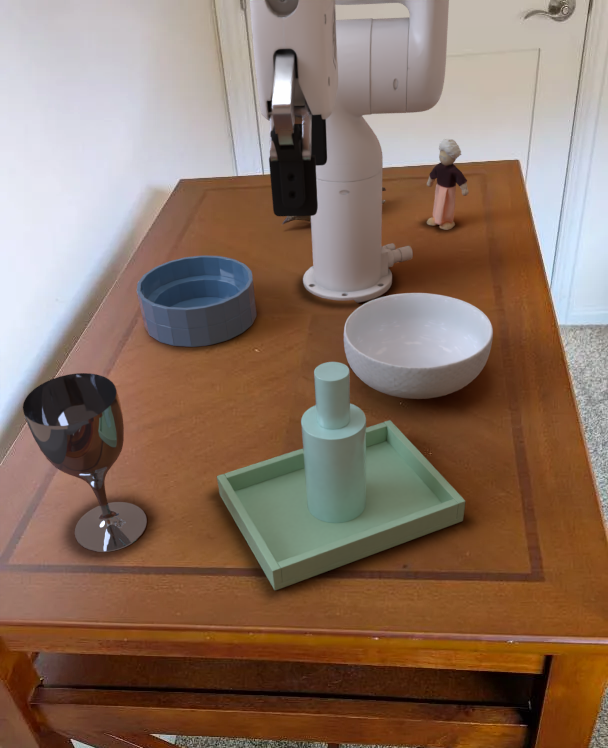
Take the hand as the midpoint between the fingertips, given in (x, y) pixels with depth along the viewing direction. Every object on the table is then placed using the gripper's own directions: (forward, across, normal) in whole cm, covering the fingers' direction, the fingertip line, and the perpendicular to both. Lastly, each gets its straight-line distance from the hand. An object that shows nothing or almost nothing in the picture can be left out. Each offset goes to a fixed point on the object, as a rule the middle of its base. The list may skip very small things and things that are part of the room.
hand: (302, 188), depth 60 cm
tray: (+29, -6, -2) cm, 29 cm away
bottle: (+28, -6, -2) cm, 29 cm away
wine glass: (+29, -9, +20) cm, 36 cm away
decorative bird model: (+30, +65, +2) cm, 72 cm away
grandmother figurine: (+30, +61, -15) cm, 70 cm away
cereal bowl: (+29, +17, -10) cm, 35 cm away
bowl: (+29, +31, +18) cm, 46 cm away
